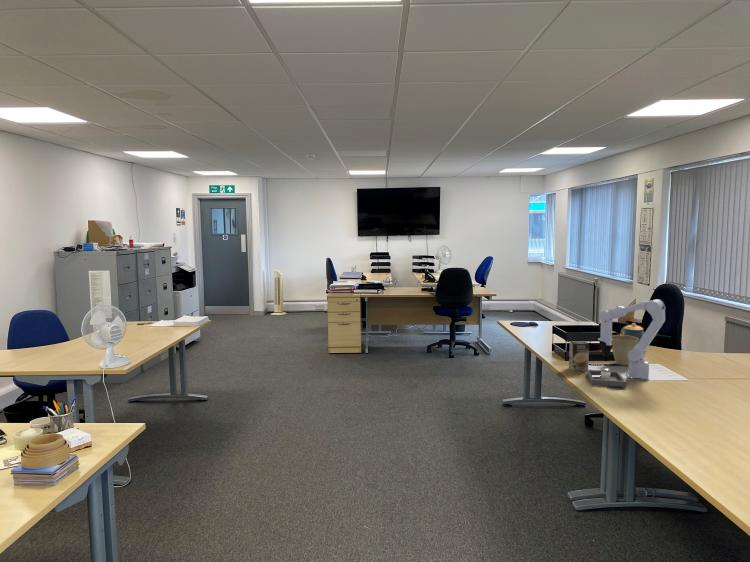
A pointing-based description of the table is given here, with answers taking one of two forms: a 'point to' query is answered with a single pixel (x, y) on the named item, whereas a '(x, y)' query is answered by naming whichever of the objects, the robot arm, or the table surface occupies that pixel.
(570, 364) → the coffee box
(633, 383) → the table surface
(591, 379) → the tray
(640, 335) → the canister
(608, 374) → the cylinder
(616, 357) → the plant pot
